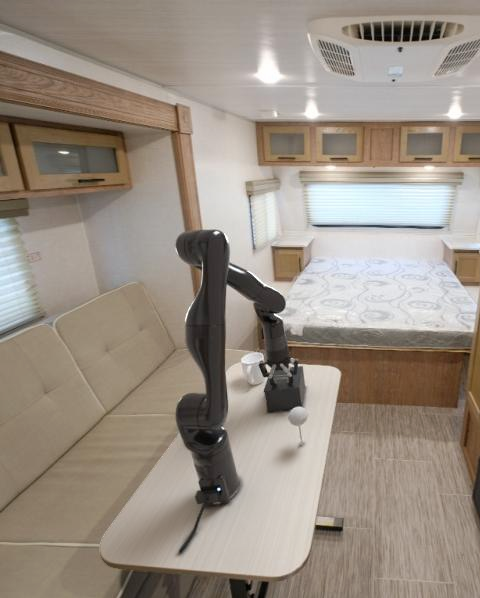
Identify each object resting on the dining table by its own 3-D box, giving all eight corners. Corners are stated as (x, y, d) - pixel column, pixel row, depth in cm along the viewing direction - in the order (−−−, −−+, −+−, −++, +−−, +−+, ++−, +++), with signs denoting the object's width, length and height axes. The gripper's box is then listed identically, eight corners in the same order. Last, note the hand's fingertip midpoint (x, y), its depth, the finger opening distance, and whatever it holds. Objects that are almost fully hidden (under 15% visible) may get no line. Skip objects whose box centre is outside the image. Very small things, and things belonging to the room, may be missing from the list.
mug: (249, 376, 151) (244, 352, 146) (269, 374, 152) (265, 351, 147) (240, 392, 140) (235, 368, 135) (262, 391, 141) (258, 366, 136)
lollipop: (313, 438, 117) (309, 403, 111) (307, 452, 112) (303, 415, 106) (296, 437, 118) (291, 402, 112) (289, 450, 112) (283, 414, 106)
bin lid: (299, 389, 126) (297, 378, 125) (263, 392, 125) (261, 381, 123) (303, 367, 140) (301, 357, 138) (270, 370, 138) (269, 359, 136)
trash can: (302, 409, 131) (299, 388, 127) (268, 412, 129) (264, 391, 125) (305, 387, 143) (303, 367, 140) (274, 390, 141) (271, 370, 138)
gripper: (252, 352, 117) (260, 392, 123) (295, 348, 119) (301, 388, 125) (257, 341, 123) (264, 380, 130) (298, 338, 126) (303, 376, 132)
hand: (282, 384), depth 127 cm, fingers closed on bin lid, 5 cm apart
